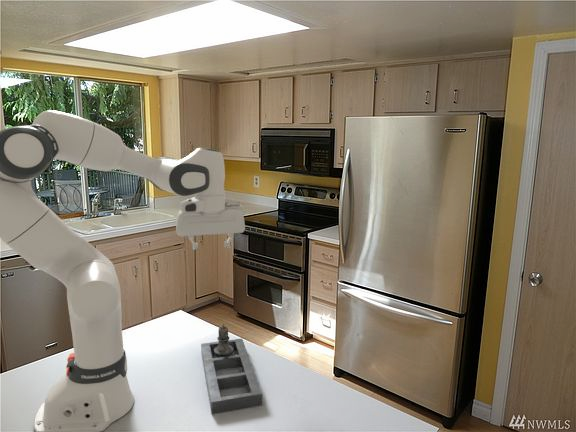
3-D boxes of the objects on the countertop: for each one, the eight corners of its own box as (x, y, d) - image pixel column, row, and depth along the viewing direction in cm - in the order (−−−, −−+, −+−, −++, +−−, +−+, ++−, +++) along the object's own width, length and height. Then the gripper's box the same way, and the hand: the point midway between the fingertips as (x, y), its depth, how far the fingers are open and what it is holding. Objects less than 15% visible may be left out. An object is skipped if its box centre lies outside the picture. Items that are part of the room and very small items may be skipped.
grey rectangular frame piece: (211, 414, 105) (211, 402, 104) (201, 353, 132) (201, 343, 131) (262, 405, 109) (262, 393, 108) (242, 348, 135) (242, 338, 135)
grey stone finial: (231, 365, 126) (231, 329, 123) (212, 365, 126) (211, 328, 123) (234, 355, 131) (234, 319, 129) (216, 354, 132) (215, 319, 129)
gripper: (243, 200, 129) (243, 243, 132) (174, 202, 123) (176, 247, 127) (247, 204, 123) (247, 248, 126) (175, 206, 118) (177, 253, 121)
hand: (211, 248), depth 126 cm, fingers open, 8 cm apart
